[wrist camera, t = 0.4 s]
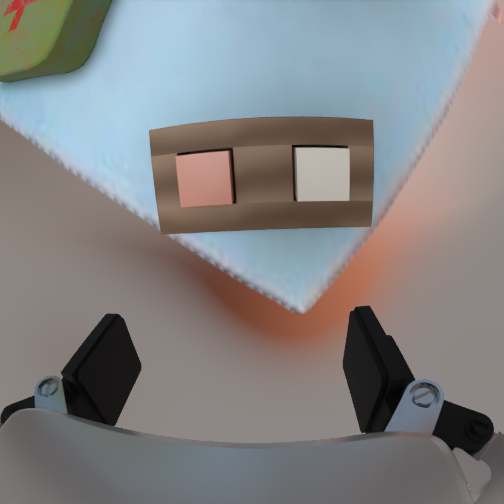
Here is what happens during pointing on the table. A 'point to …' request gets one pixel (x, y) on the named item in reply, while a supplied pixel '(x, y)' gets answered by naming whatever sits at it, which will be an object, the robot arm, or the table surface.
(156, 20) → the table surface
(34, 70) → the first aid kit
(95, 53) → the table surface
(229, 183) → the key red
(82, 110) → the table surface
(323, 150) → the key ivory
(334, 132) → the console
